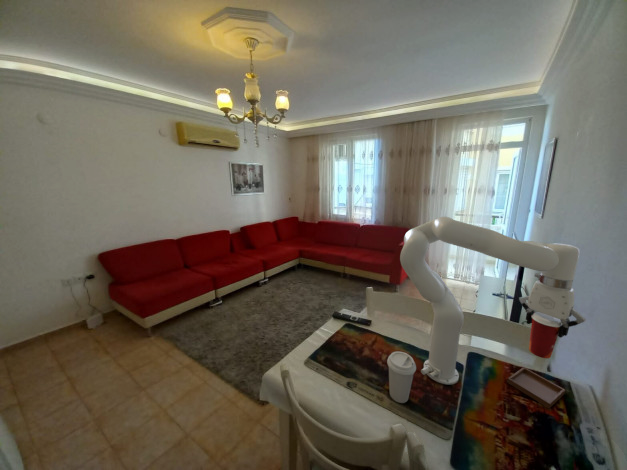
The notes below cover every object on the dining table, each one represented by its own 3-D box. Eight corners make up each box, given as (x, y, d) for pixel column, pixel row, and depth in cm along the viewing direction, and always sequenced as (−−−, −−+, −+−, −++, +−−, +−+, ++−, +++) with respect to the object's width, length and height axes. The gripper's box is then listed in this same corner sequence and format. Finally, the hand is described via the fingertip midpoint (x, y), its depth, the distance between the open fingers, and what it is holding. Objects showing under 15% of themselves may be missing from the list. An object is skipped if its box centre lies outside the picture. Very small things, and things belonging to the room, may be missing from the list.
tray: (548, 408, 80) (550, 403, 79) (506, 382, 91) (507, 378, 90) (564, 394, 85) (565, 389, 85) (522, 371, 96) (523, 366, 95)
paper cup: (561, 362, 79) (570, 324, 76) (534, 359, 80) (542, 322, 77) (544, 346, 86) (551, 311, 83) (519, 344, 88) (526, 309, 85)
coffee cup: (399, 411, 79) (402, 373, 76) (379, 390, 88) (381, 355, 84) (419, 399, 84) (422, 363, 80) (398, 380, 92) (400, 346, 89)
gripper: (517, 274, 84) (509, 319, 87) (589, 294, 68) (576, 347, 72) (528, 271, 87) (519, 314, 90) (599, 289, 72) (585, 340, 75)
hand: (544, 328), depth 81 cm, fingers closed on paper cup, 7 cm apart
